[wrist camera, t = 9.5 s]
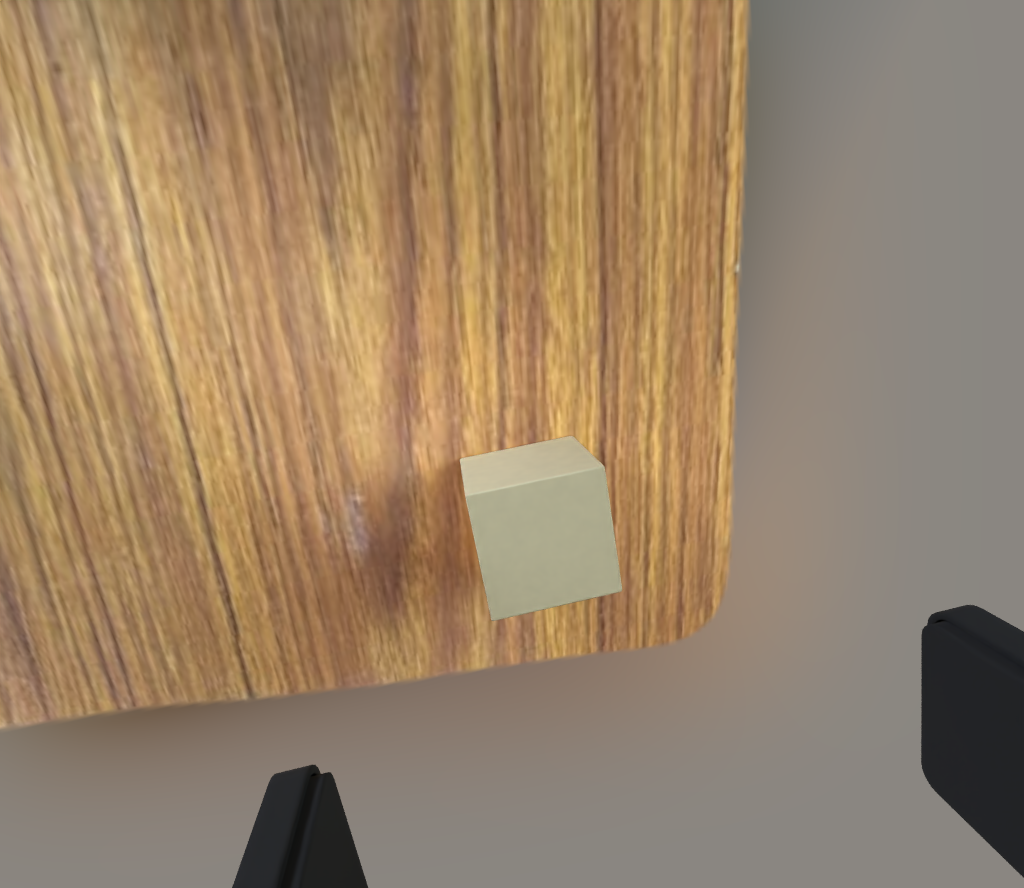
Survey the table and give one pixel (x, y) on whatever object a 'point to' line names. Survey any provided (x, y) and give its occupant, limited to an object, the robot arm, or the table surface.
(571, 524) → the cube
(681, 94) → the table surface
